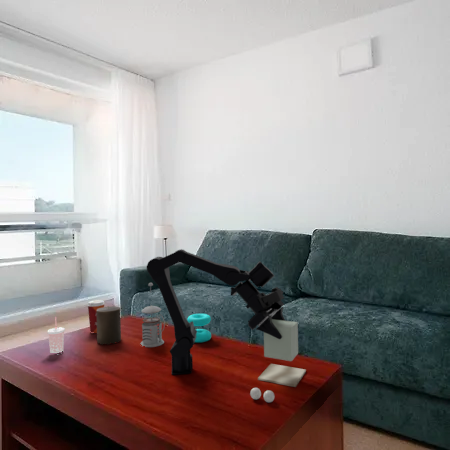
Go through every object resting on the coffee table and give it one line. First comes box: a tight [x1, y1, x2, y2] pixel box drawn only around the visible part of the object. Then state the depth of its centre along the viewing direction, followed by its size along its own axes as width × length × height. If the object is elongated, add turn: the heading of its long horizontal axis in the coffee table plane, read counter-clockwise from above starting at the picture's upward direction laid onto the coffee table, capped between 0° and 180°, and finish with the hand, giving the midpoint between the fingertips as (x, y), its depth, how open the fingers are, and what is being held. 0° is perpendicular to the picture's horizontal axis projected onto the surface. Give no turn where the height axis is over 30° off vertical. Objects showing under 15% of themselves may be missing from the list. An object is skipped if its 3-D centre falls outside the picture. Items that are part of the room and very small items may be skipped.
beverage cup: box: [47, 316, 66, 353], centre depth 139 cm, size 6×6×14 cm
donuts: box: [186, 313, 212, 344], centre depth 151 cm, size 10×10×10 cm
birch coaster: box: [257, 363, 307, 388], centre depth 114 cm, size 12×12×1 cm
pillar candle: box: [96, 305, 122, 345], centre depth 152 cm, size 10×10×15 cm
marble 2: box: [263, 389, 275, 403], centre depth 98 cm, size 3×3×3 cm
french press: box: [139, 282, 166, 348], centre depth 147 cm, size 10×12×25 cm
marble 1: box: [249, 387, 262, 400], centre depth 100 cm, size 3×3×3 cm
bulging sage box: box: [263, 319, 299, 362], centre depth 113 cm, size 9×7×10 cm
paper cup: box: [86, 299, 106, 333], centre depth 164 cm, size 8×8×14 cm
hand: (285, 334), depth 113 cm, fingers closed on bulging sage box, 7 cm apart
